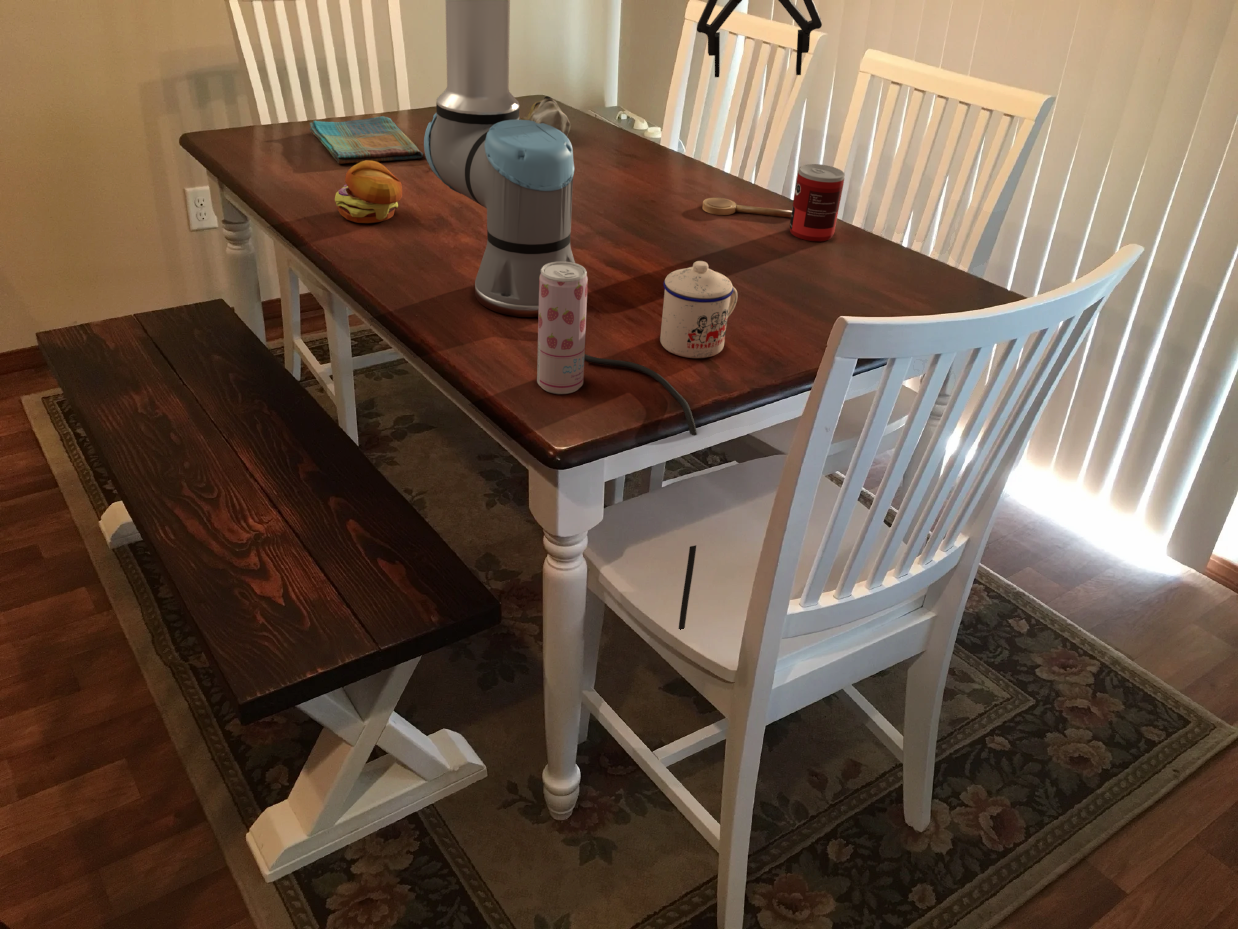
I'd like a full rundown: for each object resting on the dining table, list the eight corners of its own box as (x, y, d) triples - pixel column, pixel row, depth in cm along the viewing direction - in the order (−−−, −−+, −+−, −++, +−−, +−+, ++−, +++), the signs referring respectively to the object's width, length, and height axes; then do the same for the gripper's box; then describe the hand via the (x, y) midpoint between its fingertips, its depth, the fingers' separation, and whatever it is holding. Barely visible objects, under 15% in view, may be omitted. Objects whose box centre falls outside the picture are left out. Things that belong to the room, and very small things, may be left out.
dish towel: (391, 126, 211) (390, 114, 210) (425, 159, 194) (424, 146, 192) (309, 132, 204) (307, 119, 203) (336, 166, 187) (335, 152, 186)
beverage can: (567, 400, 119) (571, 283, 111) (528, 386, 122) (529, 271, 113) (591, 381, 124) (597, 268, 115) (553, 368, 126) (556, 256, 117)
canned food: (805, 222, 177) (816, 160, 171) (842, 236, 172) (854, 173, 166) (779, 231, 172) (789, 168, 166) (816, 245, 168) (827, 181, 162)
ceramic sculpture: (533, 103, 200) (512, 89, 211) (533, 147, 204) (512, 131, 216) (583, 102, 203) (559, 88, 215) (581, 145, 208) (558, 130, 219)
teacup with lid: (690, 366, 128) (699, 282, 122) (644, 340, 134) (651, 258, 128) (754, 344, 135) (766, 263, 129) (708, 319, 141) (717, 240, 134)
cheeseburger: (363, 199, 172) (370, 145, 166) (410, 227, 170) (419, 174, 164) (321, 214, 165) (327, 158, 159) (370, 243, 162) (378, 188, 156)
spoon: (796, 212, 181) (797, 205, 181) (796, 223, 176) (797, 216, 176) (703, 202, 183) (704, 195, 182) (701, 213, 178) (701, 206, 177)
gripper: (841, -75, 156) (831, 64, 169) (682, -68, 159) (685, 68, 172) (844, -65, 150) (834, 78, 163) (679, -58, 153) (682, 82, 166)
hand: (757, 73), depth 168 cm, fingers open, 13 cm apart
